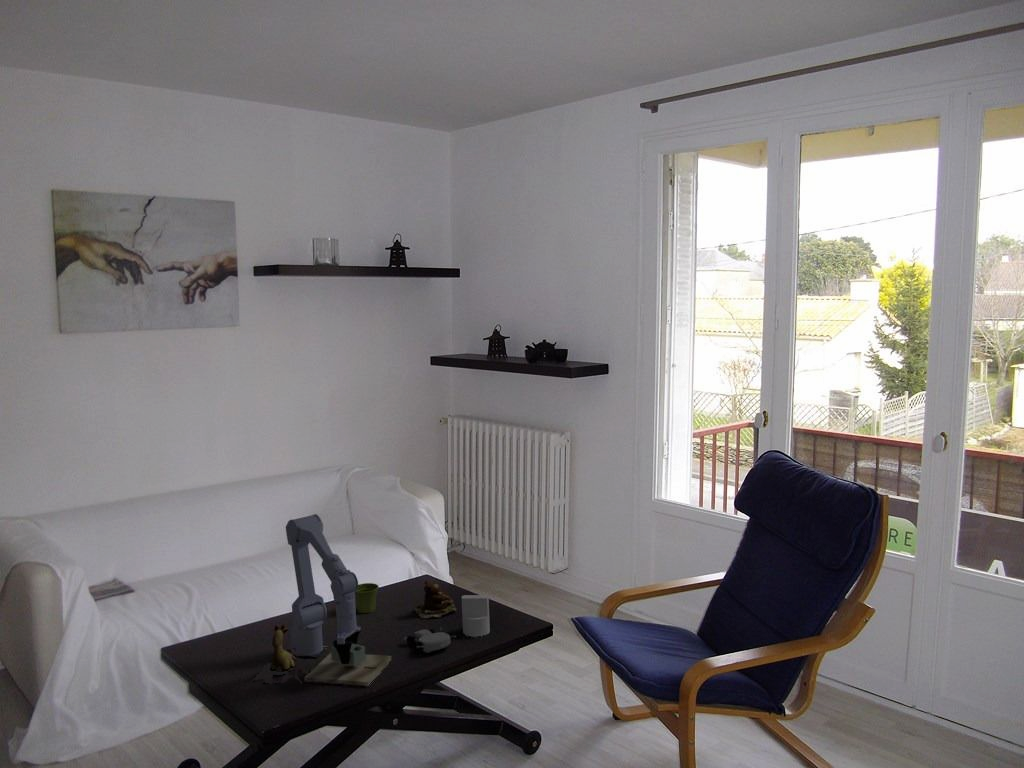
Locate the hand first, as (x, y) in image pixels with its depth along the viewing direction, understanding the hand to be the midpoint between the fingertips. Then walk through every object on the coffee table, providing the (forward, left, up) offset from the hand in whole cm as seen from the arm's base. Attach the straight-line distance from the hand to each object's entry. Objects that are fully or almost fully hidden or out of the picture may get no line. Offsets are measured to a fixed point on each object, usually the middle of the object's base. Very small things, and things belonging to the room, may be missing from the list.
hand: (348, 658), depth 244 cm
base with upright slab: (+30, +35, -4) cm, 46 cm away
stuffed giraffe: (-19, -3, -5) cm, 20 cm away
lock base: (0, 0, -4) cm, 4 cm away
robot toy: (+18, +21, -5) cm, 28 cm away
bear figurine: (+10, +51, -5) cm, 52 cm away
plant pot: (-15, +48, -4) cm, 51 cm away
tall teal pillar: (0, 0, -1) cm, 1 cm away
